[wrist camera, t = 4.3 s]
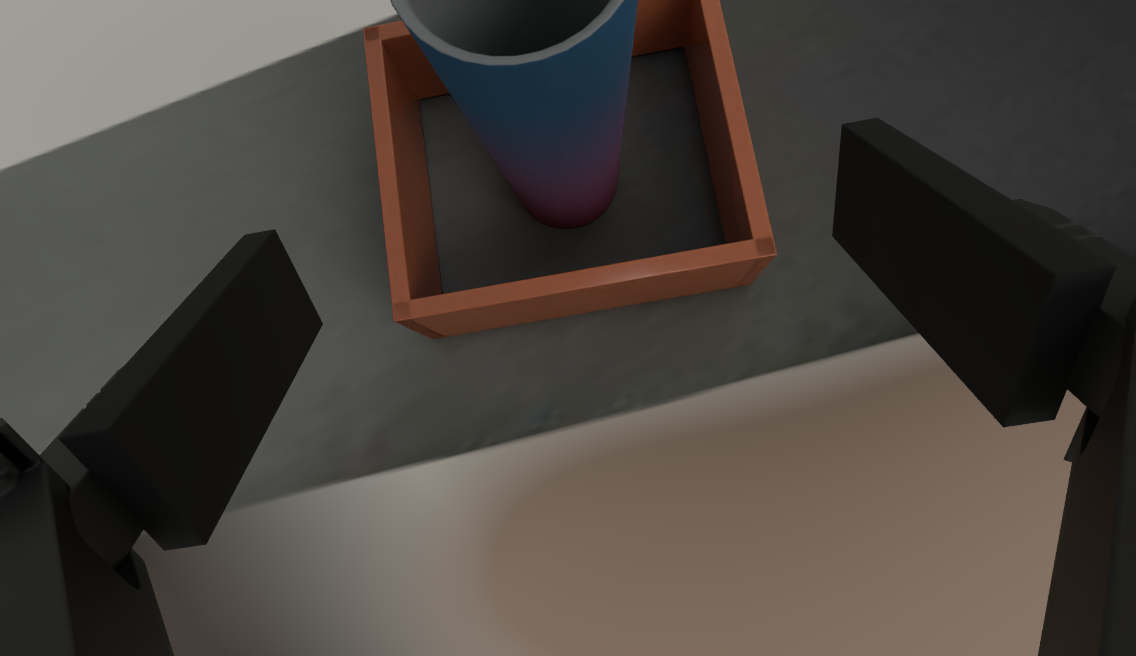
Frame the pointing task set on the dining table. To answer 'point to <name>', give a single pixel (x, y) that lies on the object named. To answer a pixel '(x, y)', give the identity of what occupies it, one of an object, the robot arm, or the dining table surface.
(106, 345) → the dining table surface
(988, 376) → the robot arm
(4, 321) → the dining table surface
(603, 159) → the cup
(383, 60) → the rectangular frame
